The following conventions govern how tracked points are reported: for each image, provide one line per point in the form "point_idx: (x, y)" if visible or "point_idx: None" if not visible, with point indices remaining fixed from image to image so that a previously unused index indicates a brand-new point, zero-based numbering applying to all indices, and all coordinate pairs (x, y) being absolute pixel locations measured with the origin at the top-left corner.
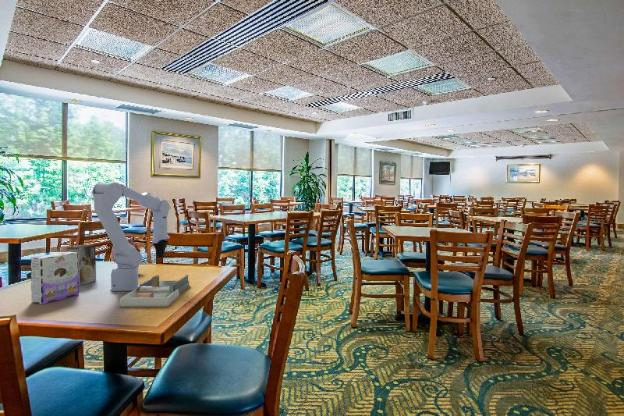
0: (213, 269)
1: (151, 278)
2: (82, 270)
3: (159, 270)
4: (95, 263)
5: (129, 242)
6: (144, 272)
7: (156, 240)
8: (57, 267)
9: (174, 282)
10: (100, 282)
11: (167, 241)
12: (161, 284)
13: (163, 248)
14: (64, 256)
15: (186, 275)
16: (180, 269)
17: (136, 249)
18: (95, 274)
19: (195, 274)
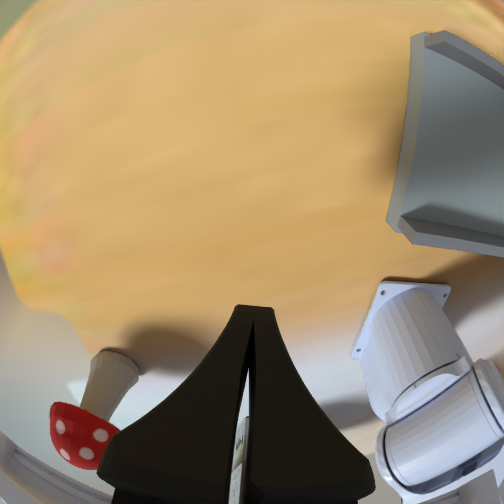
0: (16, 34)
1: (484, 248)
2: None
3: (52, 280)
4: (243, 466)
5: (80, 467)
6: (97, 327)
7: (499, 496)
8: None
9: (456, 116)
10: None
11: (182, 488)
12: (478, 184)
13: (309, 394)
14: None
15: (460, 43)
16: (17, 194)
17: (82, 432)
18: (247, 434)
19: (102, 58)
